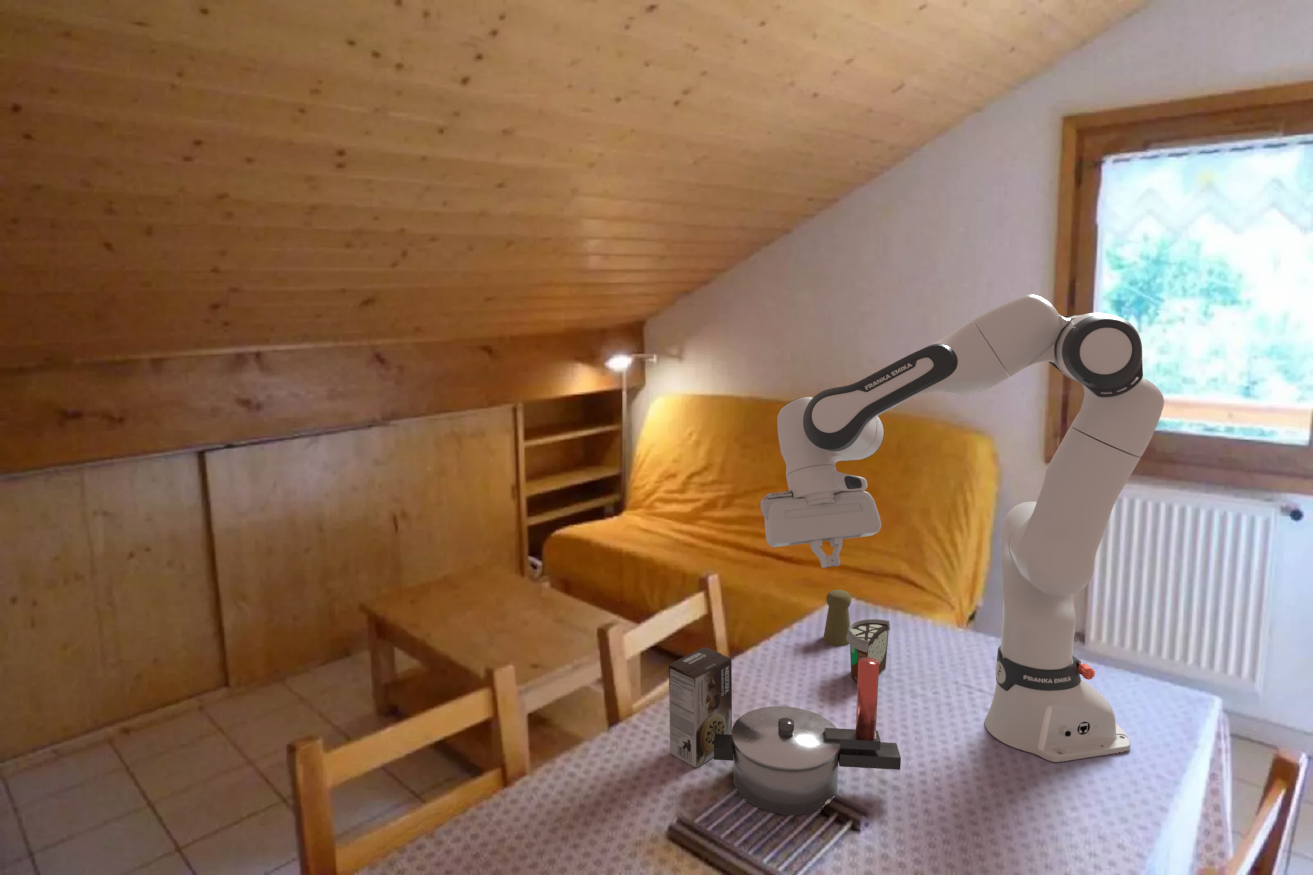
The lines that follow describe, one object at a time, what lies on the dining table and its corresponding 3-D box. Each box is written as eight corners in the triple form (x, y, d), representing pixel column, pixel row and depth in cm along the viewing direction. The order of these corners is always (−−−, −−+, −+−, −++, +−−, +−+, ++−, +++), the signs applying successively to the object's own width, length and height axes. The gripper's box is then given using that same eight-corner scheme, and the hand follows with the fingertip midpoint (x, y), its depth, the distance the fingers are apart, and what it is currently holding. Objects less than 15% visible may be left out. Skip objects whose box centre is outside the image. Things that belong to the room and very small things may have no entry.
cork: (852, 646, 175) (853, 598, 173) (823, 644, 176) (824, 596, 174) (851, 634, 181) (853, 587, 179) (823, 632, 182) (824, 585, 180)
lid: (730, 767, 120) (730, 682, 117) (733, 709, 136) (734, 633, 134) (887, 777, 117) (891, 689, 115) (871, 716, 134) (874, 638, 131)
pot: (712, 810, 122) (712, 767, 121) (716, 749, 138) (716, 711, 136) (906, 822, 119) (908, 778, 117) (888, 758, 134) (890, 719, 133)
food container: (859, 658, 170) (860, 613, 168) (888, 666, 166) (890, 620, 164) (834, 682, 160) (836, 634, 158) (865, 691, 156) (867, 642, 154)
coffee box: (704, 732, 143) (704, 645, 140) (733, 746, 139) (733, 657, 135) (667, 753, 137) (667, 663, 134) (696, 769, 132) (696, 676, 129)
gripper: (763, 489, 139) (779, 570, 135) (874, 477, 143) (893, 556, 139) (753, 499, 145) (768, 577, 141) (860, 488, 149) (877, 563, 145)
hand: (831, 566), depth 140 cm, fingers closed
